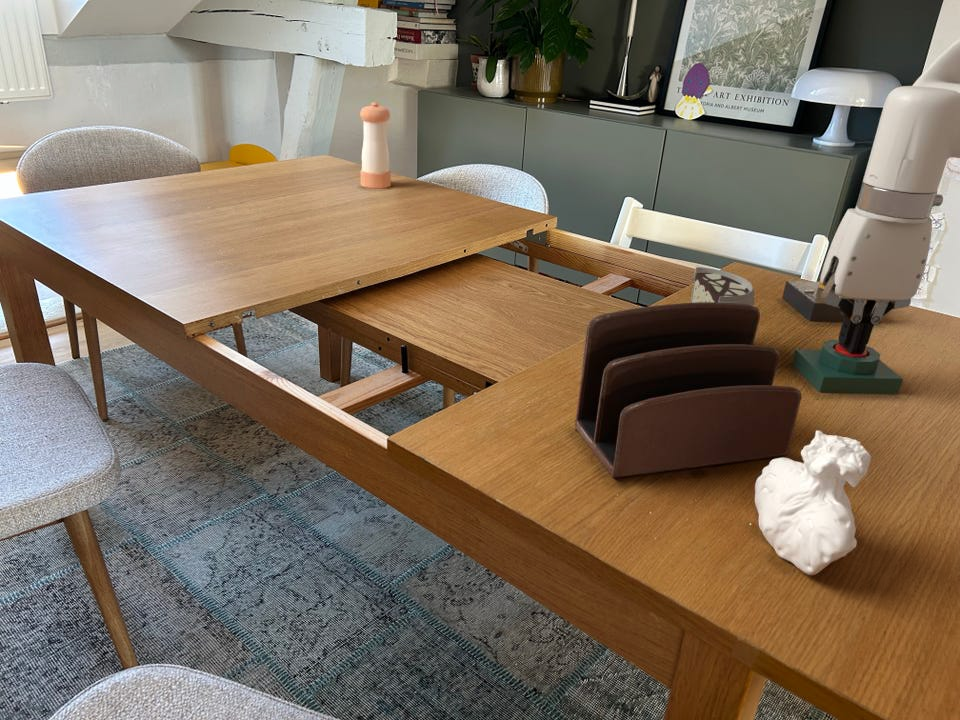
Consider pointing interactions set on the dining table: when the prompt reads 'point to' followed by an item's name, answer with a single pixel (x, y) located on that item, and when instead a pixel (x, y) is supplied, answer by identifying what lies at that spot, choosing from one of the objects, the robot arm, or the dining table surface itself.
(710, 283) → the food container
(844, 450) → the white tied bag
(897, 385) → the button box
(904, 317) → the dining table surface
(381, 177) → the salt shaker
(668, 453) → the letter holder
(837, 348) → the button
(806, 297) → the panel
